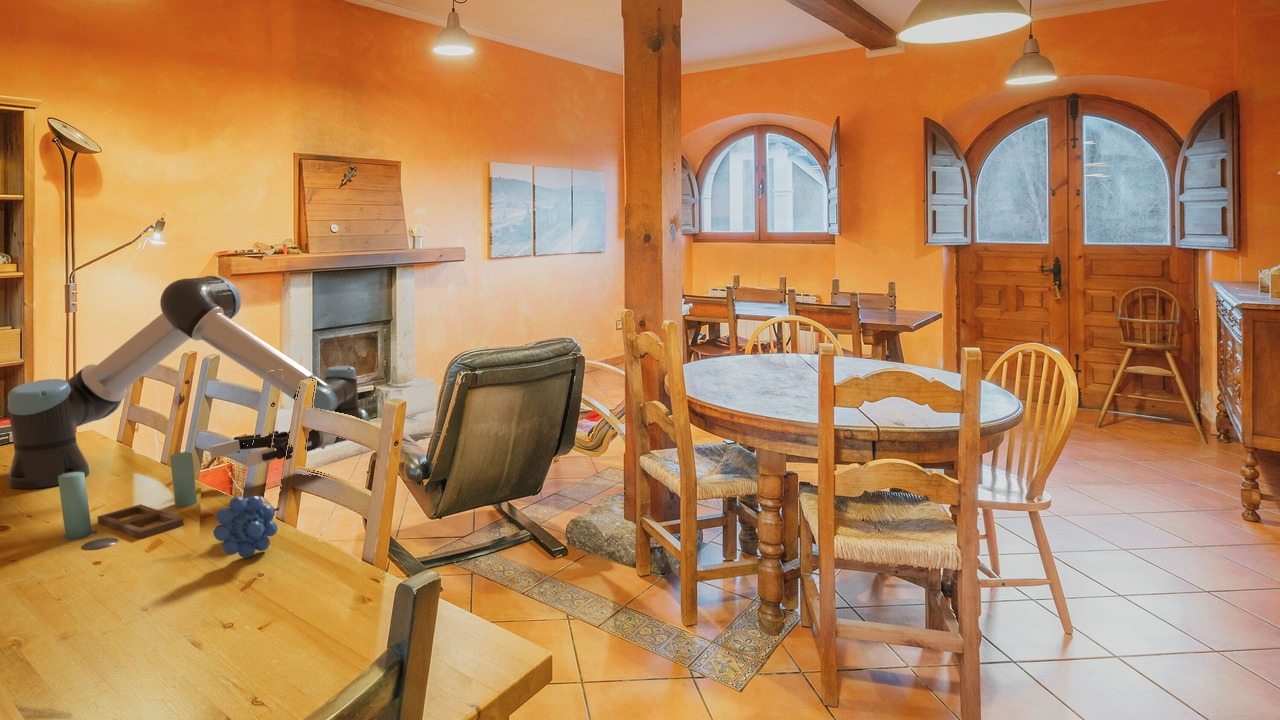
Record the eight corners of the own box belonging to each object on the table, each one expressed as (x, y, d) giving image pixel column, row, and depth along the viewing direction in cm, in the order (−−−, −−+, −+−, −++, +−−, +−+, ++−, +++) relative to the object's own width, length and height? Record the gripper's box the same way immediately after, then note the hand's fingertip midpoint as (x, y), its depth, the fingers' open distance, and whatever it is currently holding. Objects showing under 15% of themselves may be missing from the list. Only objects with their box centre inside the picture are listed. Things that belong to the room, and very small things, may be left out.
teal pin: (176, 507, 159) (170, 453, 157) (197, 504, 161) (192, 451, 159) (175, 513, 156) (169, 458, 154) (197, 509, 158) (192, 456, 156)
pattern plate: (51, 542, 141) (50, 536, 140) (98, 528, 147) (97, 522, 147) (93, 560, 133) (92, 554, 132) (140, 544, 139) (140, 538, 139)
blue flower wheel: (232, 575, 127) (225, 509, 125) (209, 566, 130) (203, 502, 128) (292, 550, 137) (287, 489, 135) (270, 543, 140) (265, 483, 138)
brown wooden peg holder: (98, 528, 147) (97, 516, 147) (141, 515, 154) (140, 504, 154) (140, 544, 139) (139, 532, 139) (184, 530, 146) (183, 518, 146)
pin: (67, 533, 142) (59, 473, 140) (93, 529, 144) (85, 470, 142) (64, 540, 138) (56, 479, 136) (90, 536, 140) (82, 476, 138)
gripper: (346, 456, 178) (264, 481, 160) (281, 442, 190) (198, 464, 172) (344, 426, 176) (260, 447, 158) (279, 414, 189) (195, 433, 171)
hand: (228, 456), depth 165 cm, fingers open, 13 cm apart
